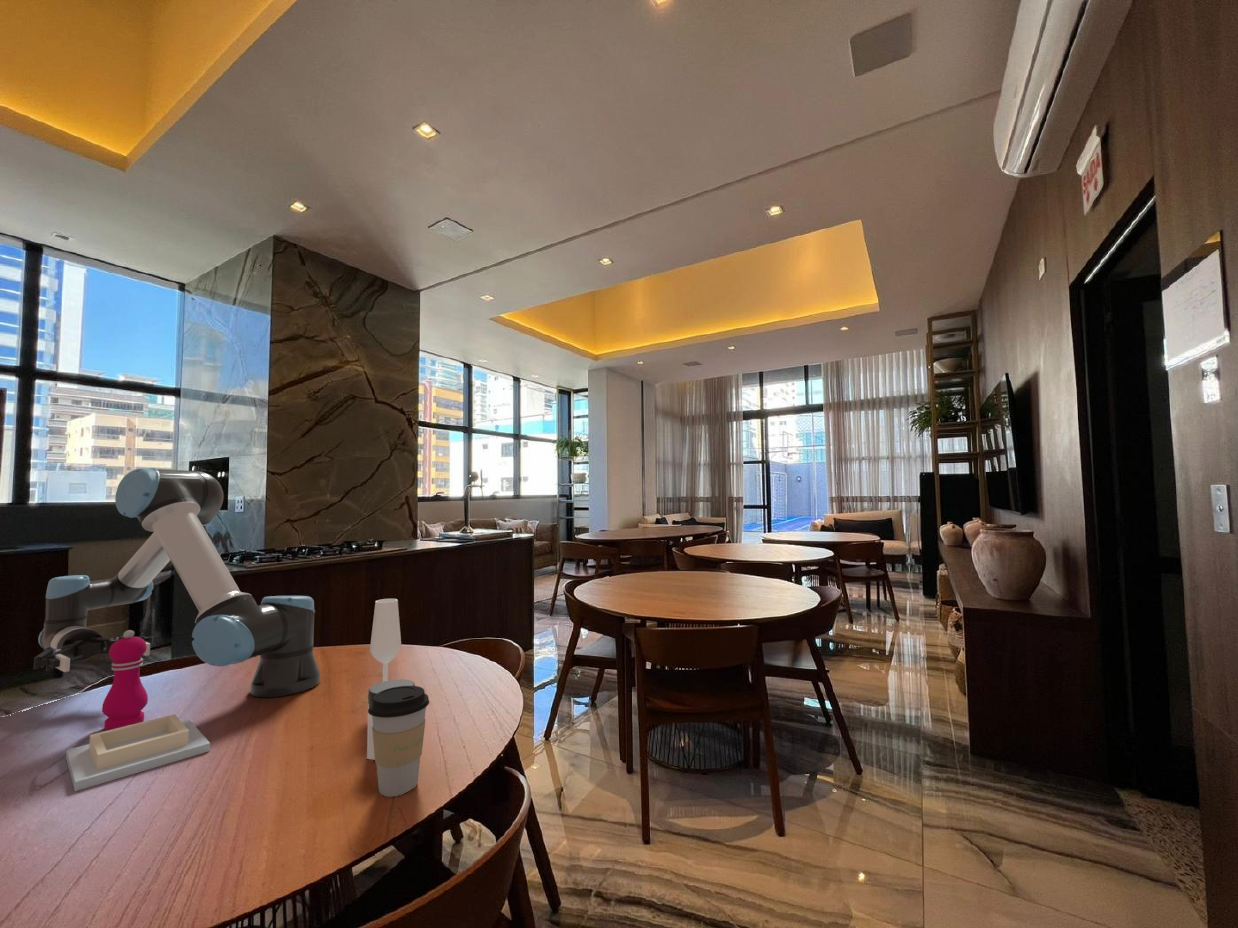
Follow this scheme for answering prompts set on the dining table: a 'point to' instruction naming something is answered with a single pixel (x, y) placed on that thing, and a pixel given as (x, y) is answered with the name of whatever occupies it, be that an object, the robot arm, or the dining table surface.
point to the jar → (372, 693)
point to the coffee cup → (398, 737)
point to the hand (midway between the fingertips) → (109, 657)
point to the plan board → (134, 750)
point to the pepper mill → (125, 683)
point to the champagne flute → (385, 633)
